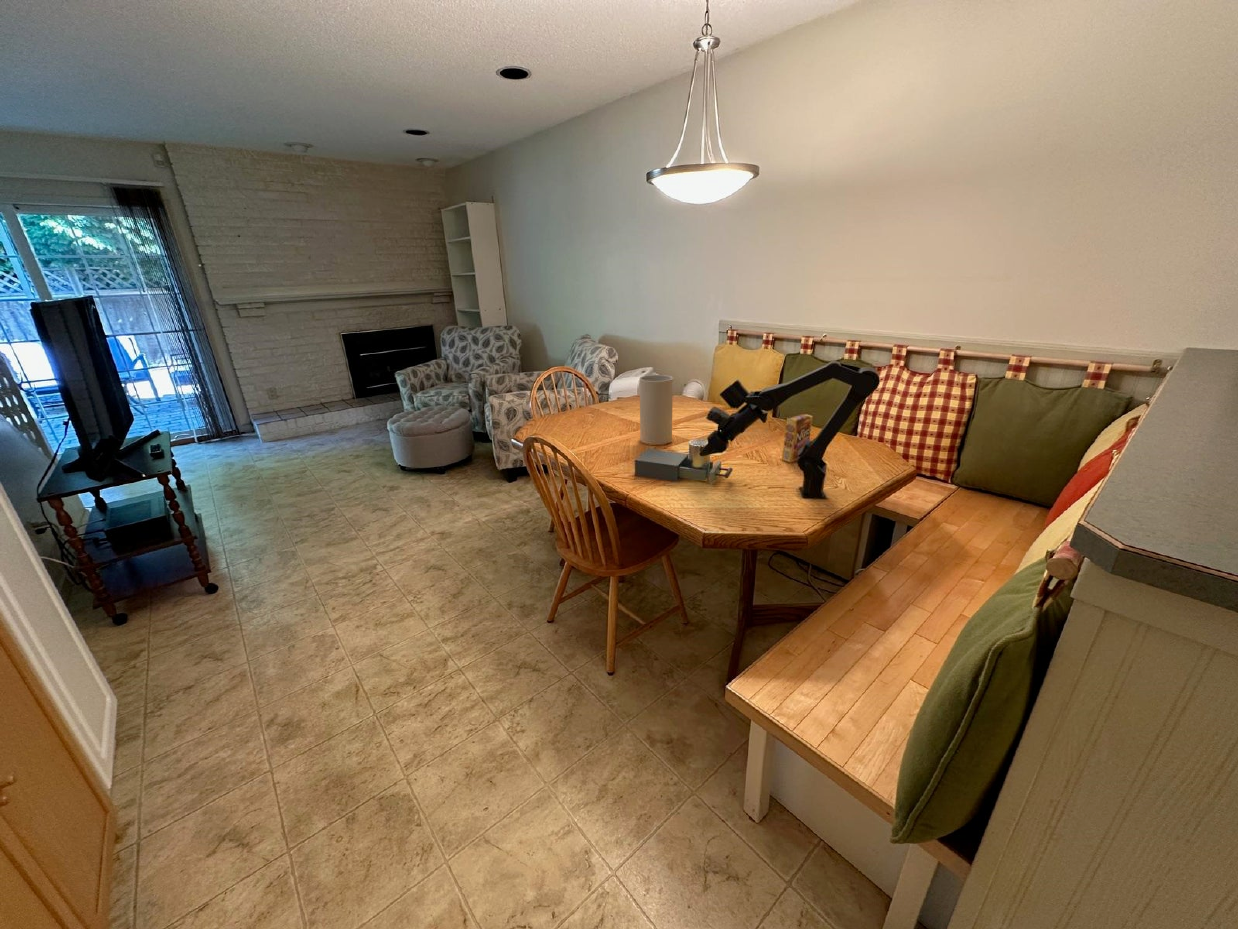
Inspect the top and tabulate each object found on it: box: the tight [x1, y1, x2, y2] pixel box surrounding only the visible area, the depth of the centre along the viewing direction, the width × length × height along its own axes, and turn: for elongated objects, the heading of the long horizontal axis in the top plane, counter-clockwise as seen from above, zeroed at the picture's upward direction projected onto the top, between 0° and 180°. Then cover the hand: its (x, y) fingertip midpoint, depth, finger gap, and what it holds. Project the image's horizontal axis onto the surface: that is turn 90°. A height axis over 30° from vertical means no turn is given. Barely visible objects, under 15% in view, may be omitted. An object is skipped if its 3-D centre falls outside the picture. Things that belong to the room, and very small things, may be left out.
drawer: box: [678, 457, 733, 485], centre depth 152 cm, size 18×10×4 cm, turn 65°
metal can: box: [688, 438, 711, 475], centre depth 151 cm, size 7×7×10 cm
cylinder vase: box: [639, 374, 674, 446], centre depth 185 cm, size 12×12×25 cm
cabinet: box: [634, 448, 689, 483], centre depth 158 cm, size 15×12×6 cm
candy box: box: [781, 413, 814, 464], centre depth 164 cm, size 9×4×15 cm, turn 123°
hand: (704, 450), depth 150 cm, fingers open, 9 cm apart
